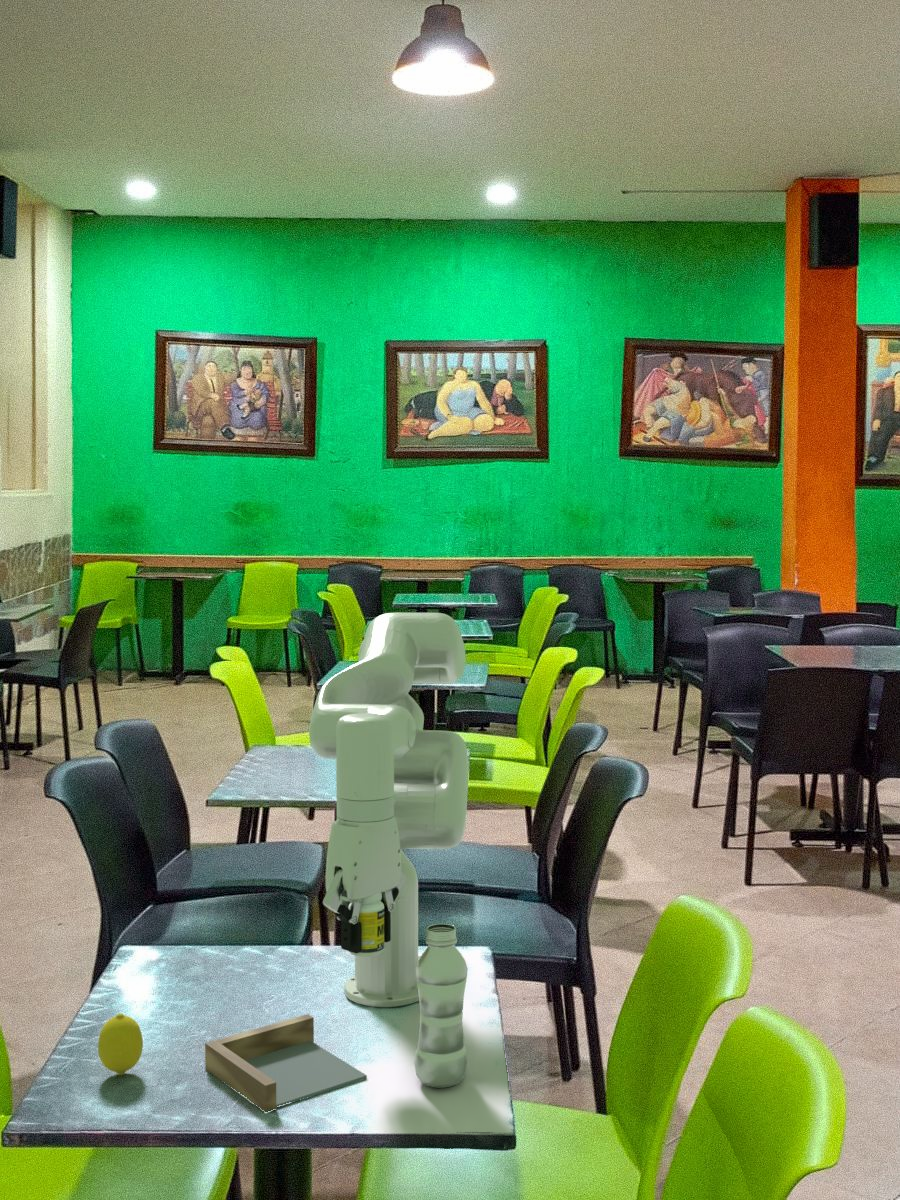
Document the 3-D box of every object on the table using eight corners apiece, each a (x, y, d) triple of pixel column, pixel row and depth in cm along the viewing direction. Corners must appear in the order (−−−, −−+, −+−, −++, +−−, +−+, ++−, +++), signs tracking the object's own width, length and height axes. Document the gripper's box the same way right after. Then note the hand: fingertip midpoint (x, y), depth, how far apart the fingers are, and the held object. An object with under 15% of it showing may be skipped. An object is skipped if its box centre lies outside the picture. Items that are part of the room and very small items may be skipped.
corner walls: (307, 1038, 177) (307, 1014, 177) (372, 1078, 165) (372, 1052, 165) (205, 1069, 167) (205, 1043, 167) (265, 1113, 155) (265, 1085, 155)
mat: (310, 1043, 175) (310, 1040, 175) (366, 1078, 165) (366, 1075, 165) (221, 1070, 167) (221, 1067, 167) (274, 1108, 157) (274, 1105, 157)
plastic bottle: (406, 1077, 165) (406, 924, 164) (454, 1067, 168) (454, 917, 167) (426, 1098, 159) (426, 939, 158) (476, 1088, 162) (476, 932, 161)
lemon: (90, 1081, 164) (89, 1020, 163) (113, 1063, 169) (111, 1003, 169) (129, 1086, 163) (128, 1024, 162) (151, 1068, 168) (150, 1008, 167)
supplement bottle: (383, 957, 168) (383, 894, 167) (347, 957, 168) (346, 894, 167) (385, 945, 173) (385, 883, 172) (349, 945, 173) (349, 883, 172)
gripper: (388, 793, 178) (388, 923, 179) (297, 816, 165) (299, 955, 166) (429, 801, 173) (429, 935, 174) (339, 825, 160) (340, 969, 161)
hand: (365, 943), depth 170 cm, fingers closed on supplement bottle, 4 cm apart
